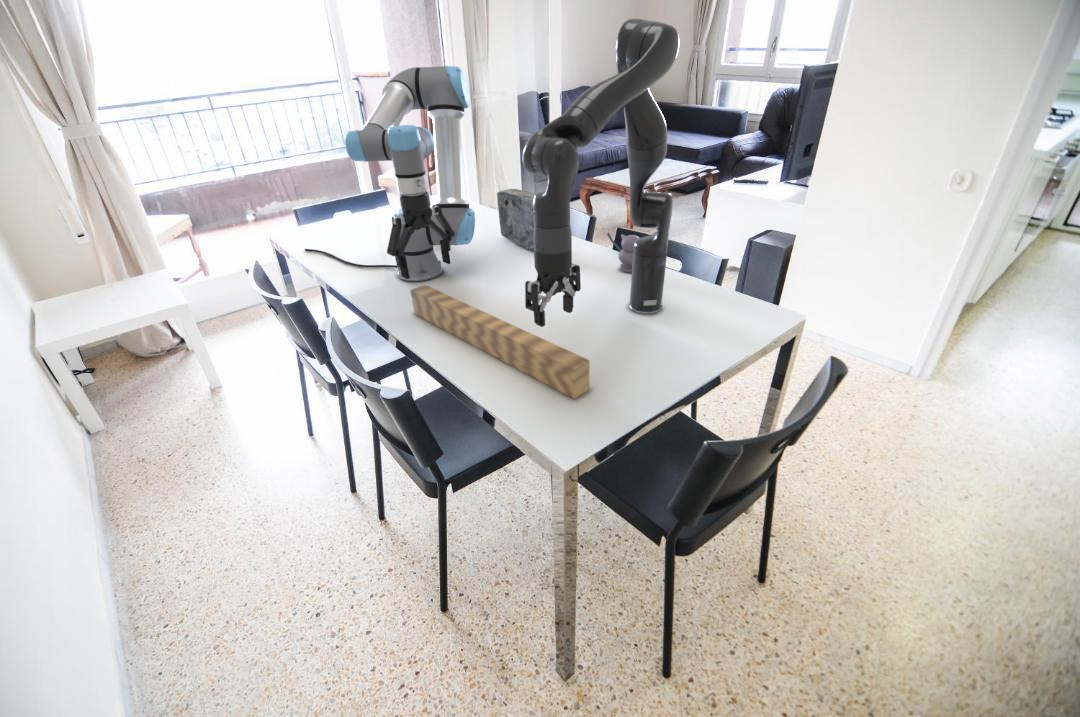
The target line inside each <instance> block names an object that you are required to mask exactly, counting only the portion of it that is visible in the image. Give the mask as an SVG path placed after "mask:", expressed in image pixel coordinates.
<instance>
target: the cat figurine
mask: <svg viewBox="0 0 1080 717" xmlns="http://www.w3.org/2000/svg"><path fill="white" fill-rule="evenodd" d="M620 235H621V243H620V244H621V251H619V253H618V260H619V261H620V263H621V264H620V271H621V272H622V273H623V272H624V273H627V274H629V273H630V274H632V263H633V247H634V242H635V241H636V240H637V239H639V238H640V237H639V236H637V235H635V234H628V235H625V234H623V233H621V234H620Z"/></svg>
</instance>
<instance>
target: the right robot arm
mask: <svg viewBox="0 0 1080 717" xmlns="http://www.w3.org/2000/svg"><path fill="white" fill-rule="evenodd" d="M679 48H680V35H679V32H678V31H677V28H676V27H674V26H673V25H671V24H668V23H666V22H661V21H656V20H649V19H643V18H629V19H627V20H626V21H624V22H623V23H622V24H621V26H620V28H619V31H618V33H617V36H616V41H615V65H616V70H617V74H615V75H613V76H611V77H608V78H606V79H604V80H602V81H600V82H598V83H596V84H594V85H592V86H591V87H589V88H588V89H586V90H585V91H584V92H583V93H581V94H580V95H579V96H578V97H577V98H576V100H575V101H573V103H572V104H570V106H569V107H568V108H567V109H566V110H565V112H564V113H563V114H561V115H560V116H558V117H557V118H555V119H553V120H551V121H550V122H548V123H547V124H545V125H544V126H542V127H541V128H540V129H538V130H537V131H535V133H533V134H532V135H531V137H529V139H528V140H527V142H526V143H525V145H524V147H523V150H522V157H521V160H522V164H523V167H524V169H525V170H526V171H527V172H528V173H529V174H531V175H533V176H536V177H540V178H544V179H547V181H548V182H547V187H546V189H543V190H539V191H538V192H536V193H535V196H534V199H533V214H534V232H533V242H534V250H533V259H534V260H533V261H534V262H533V263H534V269H535V271H536V273H537V276H536V279H535V280H534V281H530V280H526V281H525V283H524V300H525V301H524V302H525V305H524V306H525V309H527V310H528V311H532V312H533V321H534V324H535V325H536V326H538V327H541V328H543V327H545V326H546V314H545V313H546V312H545V308H546V306H547V304H548V303H549V302H550V301H551V299H552V298H553V296H555V295H556V294H558V293H559V294H560V293H563V295H562V310H563V312H565V313H568V314H570V313H572V312H573V311H574V310H573V309H574V297H575V295H576V293H577V292H580V291H581V290H582V289H581V286H582V284H581V266H580V265H578V264H575V263H572V262H573V257H572V256H573V254H572V252H573V247H572V240H573V239H572V238H573V237H572V229H571V228H572V227H571V199H572V195H573V192H574V189H575V188H574V187H575V184H576V181H577V180H576V179H577V176H578V172H579V167H580V157H579V156H580V155H579V152H578V149H582V148H585V147H587V146H588V145H589V144H590V143H591V142H592V141H593V140H594V139H595V138H596V137H597V136H598V135H599V134H600V132H602V130H603V129H604V128H605V127H606V125H607V124H609V122H611V120H612V119H614V117H616V115H617V114H619V113H620V112H621V111H622V110H623V114H624V124H625V143H626V144H625V145H626V154H627V164H628V173H629V175H628V176H629V217H630V222H631V224H632V225H633V226H634V227H637V228H644V229H645V228H646V229H656V231H655V232H654V233H652V234H649V235H646V236H642V237H639V239H637V240H636V241H635V242H634V247H633V263H632V273H631V278H630V293H629V304H628V308H629V309H630V311H632V312H634V313H637V314H641V315H652V314H657V313H659V312H660V311H661V310H662V307H663V305H662V303H663V296H664V287H665V286H664V285H665V275H666V267H667V258H668V257H667V255H668V246H669V236H670V228H671V224H672V223H671V222H672V216H673V209H674V198H673V195H672V194H671V193H670V192H662V191H661V192H660V191H646V190H645V187H646V186H647V183H648V182H649V180H650V179H651V177H652V176H653V175H654V174H655V173H656V171H658V169H659V168H660V166H661V165H662V164H663V162H664V161H665V158H666V157H667V153H668V128H667V122H666V120H665V119H666V118H665V117H664V115H663V113H662V111H661V109H660V107H659V105H658V104H657V102H656V101H655V99H654V97H653V95H652V92H651V91H650V88H652V87H653V86H654V85H655V84H657V83H658V82H659V81H661V80H662V79H663V78H664V77H665V76H666V75H667V74H668V73H669V71H670V70H671V69H672V67H673V66H674V64H675V63H676V62H675V61H676V59H677V56H678V53H679ZM607 237H608V239H609V240H610V242H611V244H612V245H614V247H615V248H616V249H617V250H618V252H620V251H621V250H622V248H620V246H619V245H618V244H617V243H616V242H615V240H614V239H613V238H612V236H611V233H610V232H607ZM542 293H543V294H544V295H542Z"/></svg>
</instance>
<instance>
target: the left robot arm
mask: <svg viewBox="0 0 1080 717" xmlns="http://www.w3.org/2000/svg"><path fill="white" fill-rule="evenodd" d="M469 107H470V95H469V89H468V84H467V80H466V77H465V74H464V72H463V70H462V69H461V68H460V67H459V66H450V65H443V66H442V65H441V66H423V67H422V66H421V67H420V66H415V67H410V68H406V69H404V70H402V71H400V72H398V73H397V74H396V75H395V76H393V77H392V78H390V79H389V80H388V81H387V83H386V84H385V85H384V86H383V89H382V92H381V98H380V100H379V102H378V103H377V105H376V106H375V108H374V109H373V111H372V112H371V114H370V115H369V117H368V119H367V120H366V122H365V123H364V125H363V126H362V128H361V129H360V130H358V129H355V130H349V131H347V132H346V134H345V135H344V136H345V137H344V146H345V150H346V153H347V156H348V157H349V159H351V160H352V161H353V162H364V163H368V162H386V161H387V162H388V161H390V162H392V166H393V171H394V176H395V182H396V188H397V192H398V193H399V195H398V198H399V203H400V209H397V210H396V211H395V212H394V213H393V215H392V217H391V223H392V224H391V225H392V226H391V231H390V235H389V239H388V244H387V249H386V254H387V255H389V256H391V257H394V258H395V263H396V265H395V264H361V263H354V262H350V261H347V260H344V259H342V258H341V257H338V256H336V255H335V254H332V253H330V252H327V251H325V250H319V249H313V248H304V251H305V252H314V253H319V254H324V255H326V256H329V257H331V258H333V259H336V260H337V261H339V262H341V263H344V264H347V265H350V266H355V267H359V268H394V269H397V276H398V278H399V279H400V280H402V281H406V282H413V283H414V282H425V281H429V280H432V279H435V278H438V277H439V276H440V275H441V274H442V273H443V268H442V263H445V264H447V265H450V264H451V258H450V257H451V256H450V251H451V246H463V245H464V246H466V245H469V244H470V243H471V242H472V241H473V238H474V234H475V228H476V217H475V216H476V213H475V209H473V208H470V202H468V200H466V199H465V190H464V189H465V187H464V186H465V185H464V172H463V170H464V169H463V151H462V150H463V148H462V134H461V131H462V130H461V120H462V118H464V116H465V109H467V108H469ZM413 110H427V115H428V117H429V118H430V119H431V120H432V127H433V129H432V130H433V134H432V132H431V131H430V130H429V129H428V128H426V127H424V126H416V125H413V124H402V125H401V123H402V121H403V119H404V117H405V115H408V114H409V113H411V111H413ZM433 151H434V156H435V157H434V159H435V174H436V175H435V176H436V188H437V189H436V190H437V200H435V201H434V203H433V205H432V207H431V200H430V194H429V193H430V192H428V190H429V188H428V181H427V175H426V166H425V161H424V160H425V159H427V158H428V157H429V156H431V154H432V153H433ZM434 246H440V252H441V253H440V254H441V260H439V259H438V256H437V254H436V252H435V250H434ZM441 261H442V263H441Z"/></svg>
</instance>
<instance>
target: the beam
mask: <svg viewBox="0 0 1080 717" xmlns="http://www.w3.org/2000/svg"><path fill="white" fill-rule="evenodd" d="M409 291H410V297H411V302H412V307H413V312H414V315H416V316H418V317H420V318H421V319H424V320H425V321H426V322H428V323H431V324H432V325H434V326H436V327H439V329H442V330H444V331H446V332H448V333H449V334H452V335H453V336H455V337H457V338H459V339H461V340H463V341H465V342H466V343H468V344H470V345H471V346H474V347H475V348H478V349H479V350H481V351H483V352H485V353H487V354H489V355H491V356H492V357H495V358H496V359H498V360H500V361H502V362H504V363H506V364H508V365H510V366H511V367H513V368H515V369H517V370H519V371H521V372H523V373H524V374H526V375H528V376H530V377H531V378H533V379H536V380H538V381H539V382H540V383H543V384H545V385H547V386H549V387H551V388H552V389H554V390H556V391H558V392H560V393H562V394H563V395H566V396H568V397H570V398H571V399H573V400H576V399H577V398H578V397H580V396H581V395H583V394H585V393H586V392H587V391H589V390H590V359H588V358H586V357H584V356H581V355H579V354H577V353H575V352H573V351H570V350H568V349H566V348H565V347H562V346H559V345H557V344H555V343H553V342H551V341H548V340H546V339H545V338H542V337H540V336H537V335H535V334H533V333H531V332H529V331H527V330H524V329H523V328H520V327H518V326H515V325H514V324H511V323H510V322H507V321H505V320H503V319H500V318H499V317H496V316H494V315H491V314H490V313H487V312H486V311H483V310H480V308H476V307H474V306H472V305H470V304H468V303H467V302H463V301H461V300H459V299H457V298H454V297H452V296H450V295H448V294H446V293H444V292H442V291H439V290H437V289H435V288H432V287H431V286H428V285H426V284H422V285H419V286H416V287H414V288H411V289H409Z"/></svg>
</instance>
